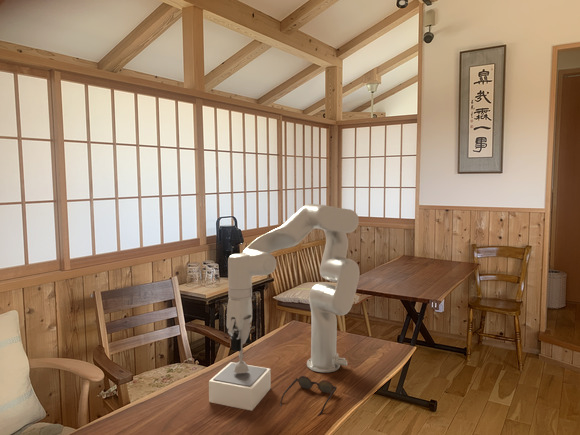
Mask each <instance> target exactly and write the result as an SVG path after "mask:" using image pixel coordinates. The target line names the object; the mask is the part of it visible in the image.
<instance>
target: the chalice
mask: <svg viewBox="0 0 580 435" xmlns="http://www.w3.org/2000/svg"><path fill="white" fill-rule="evenodd" d="M251 317H252V318H253V314H252V315H250V318H249V319H245V320H244V328H243V329H242V330H241V333H240V339H241V351H238V352H239V354H238V358H239V361H237V362H235V363H236V365H235V367H234V370H233V371H234V372H235V373H246V372H248V371H249V368H248V366H247V365H248V364H247V363H246V361H244V360H243V358H244V356H245V355H244V354H243V351H244V348H243V345H244V344H246V343H245V342H246V340H247V338H248V336H249V333H250V334H251V330H250V328H251V325H250V319H251ZM234 329H238V327H235V328H234ZM234 332H235V333H236V334H237V332H238V331H234Z"/></svg>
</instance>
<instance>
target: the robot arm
mask: <svg viewBox="0 0 580 435" xmlns="http://www.w3.org/2000/svg"><path fill="white" fill-rule="evenodd" d="M359 224H360V220H359V215H358V213H357V212H355V210H352V209H349V208H342V207H336V206H331V205H326V204H316V203H308V204H305V205H303V206H302V207H300V209H298V211H296V212H295V213H294V214H292V215H291V216H290V218H288V219H287V220H286V221H285V222H283V224H282V225H280V226H279V227H277V228H274V229H272V230H270V231H269V232H266V233H264V234H262V235H260V236H259V237H256V239H254V240H253V241H252V242H250V243H249V245H247V246H246V247H245V248H244V250H243V251H242V252H241V253H233V254H231V255H229V257H228V258H227V278H228V279H227V280H228V281H227V283H228V284H227V285H228V289H227V290H228V293H227V294H228V300H227V308H226V329H227V333H228V335H229V337H230V347H231V348H230V349H231V351H236V352H239V351H241V339H240V333H241V330H242V329H243V328H244V320H245V319H249V318H250V315H252V317H251V319H250V326H251V324H252V321H253V303H252V298H253V276H262V277H263V276H268V275H270V274H272V273H274V271H275V270H276V268H277V260H276V257H275V256H274V255H273V254H271V253H273V252H276V251H279V250H284V249H289V248H293V247H296V246H297V245H299V243H301V242H302V241H303V240H304V239H305V238H306V237H307V236H308V235H309V234H310V233H311V232H312V231H313V230H315V229H318V230H321V231H322V230H323V232H324V236H325V246H324V249H323V255H322V259H321V263H320V267H319V274H320V277H322V278H323V279H324V280H326V281H329V282H333V283H336V285H332V284H329V283H325V282H319V283H318V282H317V283H315V284H314V285H313V286H312V287H311V288H310V290H309V292H308V293H309V294H308V301H309V307H310V313H311V315H310V316H311V317H310V318H311V322H310V323H311V325H310V326H311V328H310V329H311V331H310V332H311V335H310V337H311V338H310V342H311V344H310V358H309V359H308V360H307V361H306V366H307V368H308V369H310V370H311V371H312V372H318V373H324V374H325V373H332V372H336V371H338V370H339V369H340V368H341V366H345V367H347V366H348V360H346V358H345V357H340V356H339V353H338V352H337V342H338V341H337V337H338V336H337V335H338V334H337V331H338V328H337V325H338V321H337V320H338V319H337V316H344V315H347V314H348V313H349V312H350V310H351V309H352V306H353V305H354V300H355V298H356V297H355V296H356V294H357V289H358V285H359V281H360V267H359V264H358V263H357V262H356V261H355V260H353V259H351V258H347V254H348V249H349V239H348V236H347V234H350V233H353V232H354V231H356V230H357V228H358V227H359ZM235 327H238V329H234V328H235ZM251 329H252V328H251V327H250V331H251ZM234 331H238V332H237V334H236V333H235V332H234ZM250 343H251V332H250V333H249V336H248V338H247V340H246V342H245V344H248V345H249V344H250Z"/></svg>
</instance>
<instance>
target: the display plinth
mask: <svg viewBox="0 0 580 435" xmlns="http://www.w3.org/2000/svg"><path fill="white" fill-rule="evenodd" d="M236 363H237V362H232V361H230V362H229V363H228V364H227V365H226V366H224V367H223V368H222V369H221V370H220V371H219V372H218V373H216V374H215V375H214V376H213V377H212V378H210V380H208V403H213V404H217V405H221V406H222V405H223V406H226V407H232V408H237V409H243V410H246V411H253V410H254V409H255V408H256V406H258V404H260V402H261V401H262V400H263V398H264V397H265V396H266V395H267V393H268V392H269V391H270V390H271V387H272V386H271V385H272V384H271V381H272V380H271V376H272V375H271V372H272V371H271V370H272V369H271V368H270V367H264V366H256V365H249V364H247V366H248V368H249V371H248V372H246V373H235V372H234V371H233V370H234V367H235V365H236Z"/></svg>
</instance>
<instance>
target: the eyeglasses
mask: <svg viewBox="0 0 580 435" xmlns="http://www.w3.org/2000/svg"><path fill="white" fill-rule="evenodd" d="M297 382H298V385H299V386H300V388H302V389H303V388H304V389H306V390H311V389H312V388H313V386H314V385H315V384H316V386H317V388H318V390H319V391H320V392H321V393H326V394H330V395H329V396H328V397H327V399H326V401H325V403H324V404H323V407H322V408H321V410H320V412H319V413H317V416H318V417H319V416H321V415H322V414H323V412H324V410H325V408H326V405H327V404H328V402H329V400H330V399H331V397H332V396H333V395H334V393H335V392H336V391H337V386H335V385H334V384H333V383H332V382H331V381H329V380H324V379H323V380H320V381H319V382H316V381H312V380H311V379H310V378H309V377H308V376H306V375H301V376H299V377H298V378H295V379H294V380H293V382H292V383H291V384H290V385H288V387H286V388H287V389H285V390H284V392H283V394H282V396H281V399H280V403H279V404H280V407H282V402H283V399H284V397H285V395H286V393H287V392H288V391H289V390H290V389H291V388H292V387H293V386H294V385H295V383H297Z"/></svg>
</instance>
